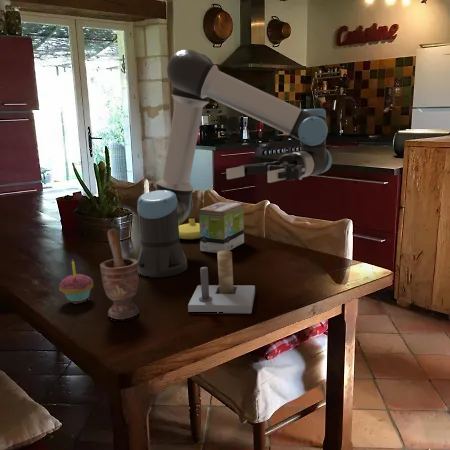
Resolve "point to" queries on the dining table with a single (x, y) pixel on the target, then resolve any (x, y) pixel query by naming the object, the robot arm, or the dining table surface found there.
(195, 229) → the yellow pot lid
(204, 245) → the tea box
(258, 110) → the robot arm
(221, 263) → the dowel
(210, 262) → the dining table surface
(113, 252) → the mortar and pestle
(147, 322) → the dining table surface
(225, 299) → the board
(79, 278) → the cupcake
